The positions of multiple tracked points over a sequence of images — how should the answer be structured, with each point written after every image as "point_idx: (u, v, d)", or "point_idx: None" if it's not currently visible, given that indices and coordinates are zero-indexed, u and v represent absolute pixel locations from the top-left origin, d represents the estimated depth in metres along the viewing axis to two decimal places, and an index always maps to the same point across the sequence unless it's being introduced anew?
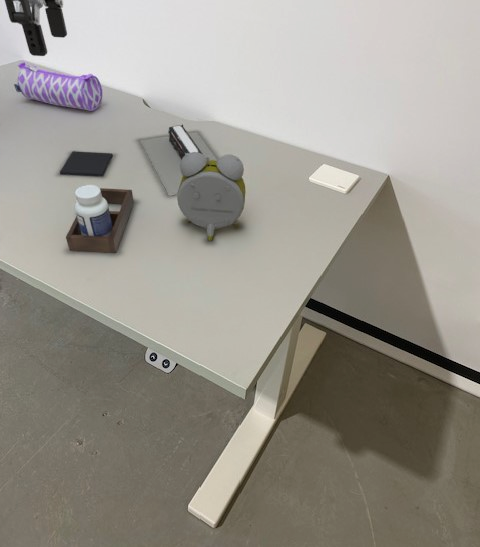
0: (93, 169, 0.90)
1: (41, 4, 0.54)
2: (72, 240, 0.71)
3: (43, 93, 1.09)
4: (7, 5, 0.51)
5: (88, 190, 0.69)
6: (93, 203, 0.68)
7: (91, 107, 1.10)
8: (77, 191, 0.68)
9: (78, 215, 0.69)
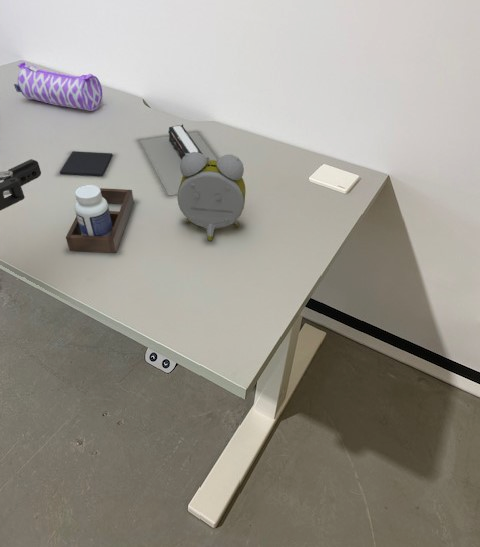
0: (93, 169, 0.90)
1: None
2: (72, 240, 0.71)
3: (43, 93, 1.09)
4: None
5: (88, 190, 0.69)
6: (93, 203, 0.68)
7: (91, 107, 1.10)
8: (77, 191, 0.68)
9: (78, 215, 0.69)
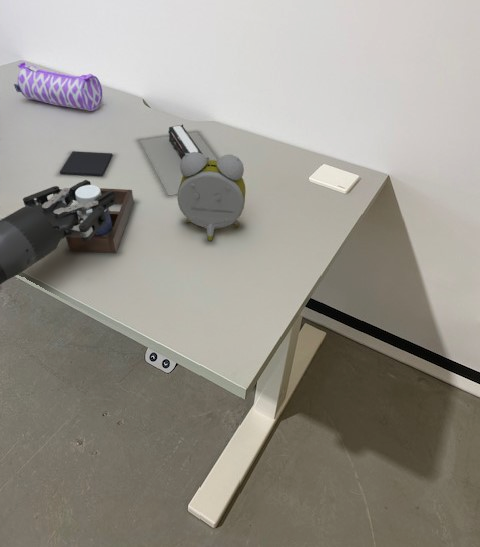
0: (93, 169, 0.90)
1: None
2: (72, 240, 0.71)
3: (43, 93, 1.09)
4: (46, 190, 0.68)
5: (88, 190, 0.69)
6: None
7: (91, 107, 1.10)
8: (77, 191, 0.68)
9: (78, 215, 0.69)
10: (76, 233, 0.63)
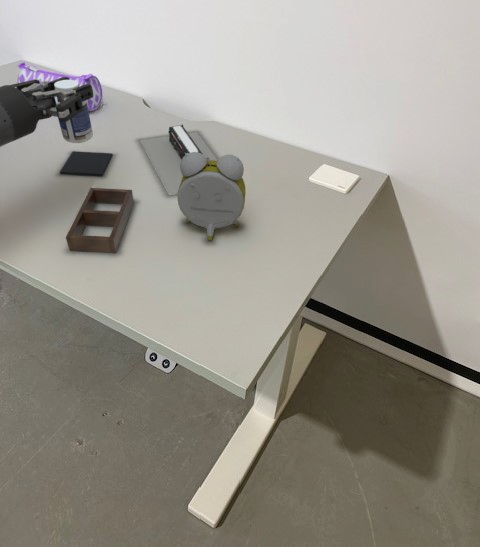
0: (93, 169, 0.90)
1: None
2: (72, 240, 0.71)
3: None
4: None
5: (67, 83, 0.72)
6: None
7: (91, 107, 1.10)
8: (56, 83, 0.71)
9: None
10: (53, 114, 0.66)
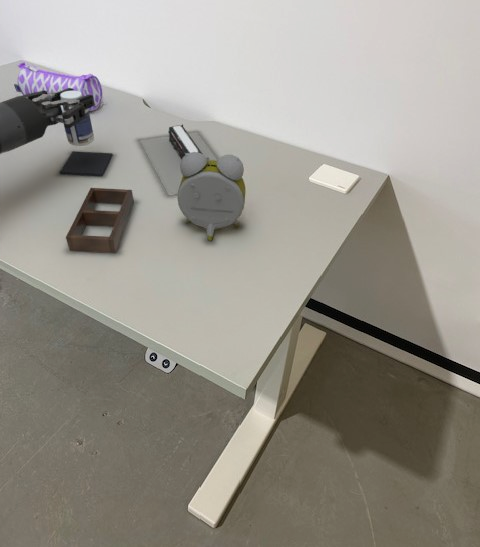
0: (93, 169, 0.90)
1: None
2: (72, 240, 0.71)
3: None
4: None
5: (71, 93, 0.82)
6: None
7: (91, 107, 1.10)
8: (62, 94, 0.82)
9: None
10: (60, 121, 0.76)
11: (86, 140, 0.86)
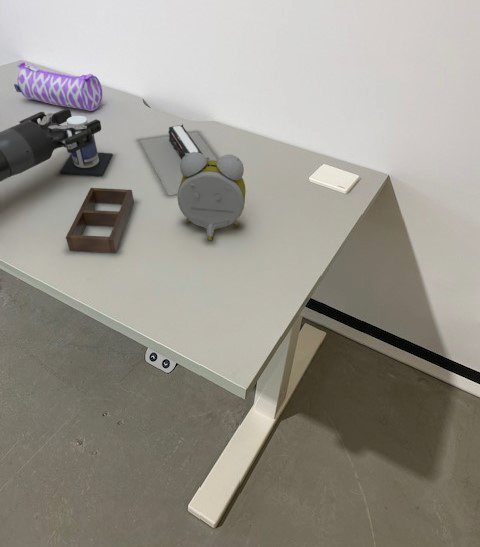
0: (93, 169, 0.90)
1: None
2: (72, 240, 0.71)
3: (43, 93, 1.09)
4: None
5: (77, 119, 0.85)
6: None
7: (91, 107, 1.10)
8: (68, 119, 0.85)
9: None
10: (63, 145, 0.79)
11: (91, 162, 0.90)
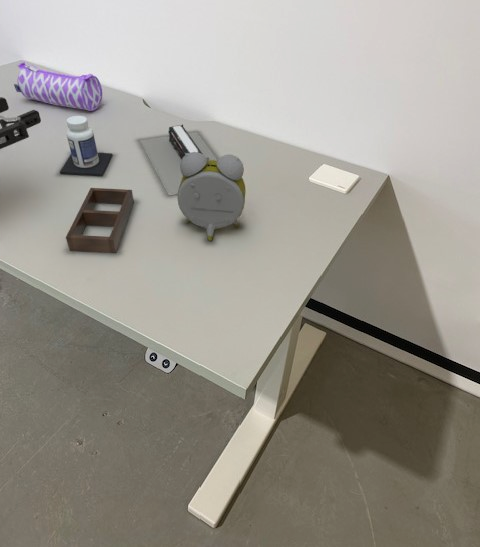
0: (93, 169, 0.90)
1: None
2: (72, 240, 0.71)
3: (43, 93, 1.09)
4: None
5: (77, 119, 0.85)
6: (81, 129, 0.85)
7: (91, 107, 1.10)
8: (68, 119, 0.85)
9: (69, 139, 0.86)
10: None
11: (91, 162, 0.90)
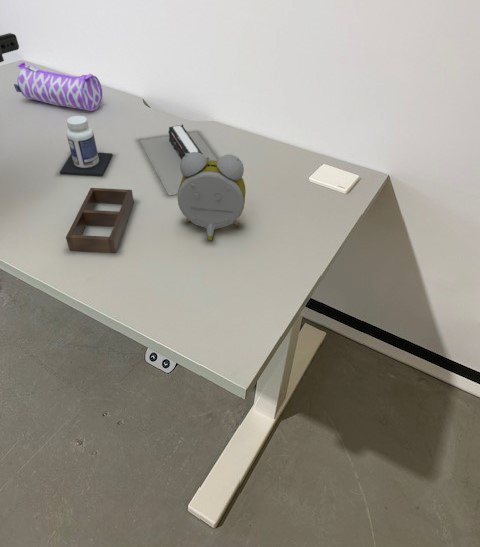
0: (93, 169, 0.90)
1: None
2: (72, 240, 0.71)
3: (43, 93, 1.09)
4: None
5: (77, 119, 0.85)
6: (81, 129, 0.85)
7: (91, 107, 1.10)
8: (68, 119, 0.85)
9: (69, 139, 0.86)
10: None
11: (91, 162, 0.90)
